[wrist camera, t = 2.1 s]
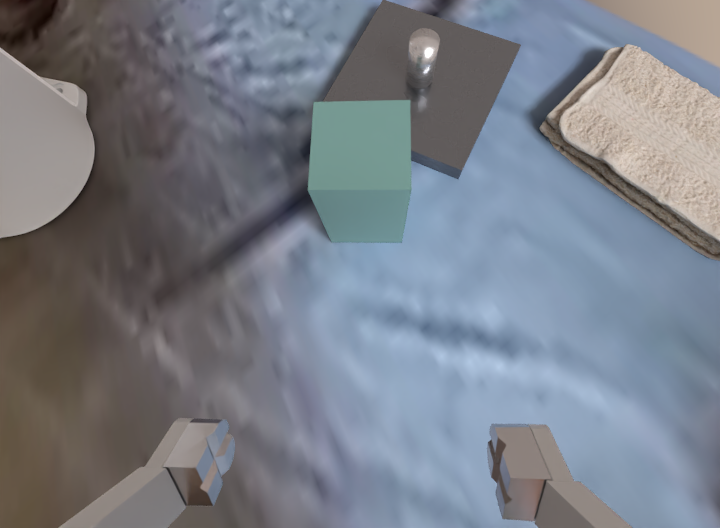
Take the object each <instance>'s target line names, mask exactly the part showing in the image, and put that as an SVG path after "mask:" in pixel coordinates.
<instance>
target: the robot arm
mask: <svg viewBox="0 0 720 528" xmlns="http://www.w3.org/2000/svg"><path fill="white" fill-rule="evenodd" d="M86 109H87V95H86V93H85V91H84V90H82V89H81V88H79V87H78V86H77V85H75V84H73V83H68V82H63V81H59V80H54V79H49V78H44V77H39V76H38V75H36V74H35V73H34V72H32V71H31V70H30V69H28V68H27V67H26V66H24V65H23V64H22V63H20V62H19V61H18V60H16V59H15V58H14V57H12V56H11V55H9V54H8V53H7V52H5V51H4V50H3V49H1V48H0V238H2V237H9V236H15V235H20V234H24V233H27V232H30V231H32V230H35V229H37V228H39V227H41V226H43V225H45V224H47V223H48V222H50V221H51V220H53V219H54V218H56V217H57V216H58V215H59V214H61V213H62V212H63V211H64V210H65V209H66V208H67V207H68V206H69V205H70V204H71V203H72V202H73V201H74V200H75V199H76V197H77V196H78V195H79V193H80V192H81V190H82V189H83V187H84V185H85V183H86V181H87V179H88V177H89V175H90V172H91V169H92V166H93V161H94V153H95V146H94V138H93V134H92V131H91V129H90V127H89V124H88V122H87V119H86ZM228 429H229V425H228V423H227V420H217V419H195V418H179V419H177V420H176V421H175V422H174V423H173V424H172V426H171V427H170V429H169V430H168V432H167V433H166V435H165V437H164V438H163V440H162V441H161V443H160V444H159V446H158V447H157V449H156V450H155V452H154V453H153V455H152V457H151V458H150V460H149V461H148V463H147V464H146V466H145V467H140V468H138V469H137V470H135V471H134V472H133V473H131V474H130V475H129V476H127V477H126V478H125V479H123V480H122V481H121V482H119V483H118V484H117V485H115V486H114V487H113V488H111V489H110V490H109V491H107V492H106V493H105V494H103V495H102V496H101V497H99V498H98V499H96V500H95V501H94V502H92V503H91V504H90V505H88V506H87V507H86V508H84V509H83V510H82V511H80V512H79V513H78V514H76V515H75V516H74V517H72V518H71V519H70V520H68V521H67V522H66V523H64V524H63V525H61V526H60V527H59V528H167V527H168V526H169V525H170V524H171V523H172V522H173V521H174V520H175V519H176V518H177V517H178V516H179V515H180V514H181V513H182V511H183V510H184V509H185V508H186V506H214V503H215V501H216V499H217V496H218V494H219V492H220V489H221V487H222V485H223V481H222V477H221V476H222V475H223V474H224V473H225V472H226V471H227V470H228V469H229V468H230V465H231V463H232V460H233V456H234V451H235V443H234V439H233V436H231V435H230V434H229V433H228V432H227V431H228ZM490 436H491V440H490V441H489V442H488V447H487V455H488V464H489V469H490V473H491V477H492V478H493V479H494V480H495V482H496V483H497V488H496V497H497V500H498V504H499V508H500V512H501V515H502V519H511V520H524V521H535V524H536V525H537V526H538V528H632V527H631V526H630V525H629V524H628V523H627V522H625V521H624V520H623V519H622V518H621V517H620V516H619V515H617V514H616V513H615V512H614V511H613V510H612V509H611V508H609V507H608V506H607V505H606V504H605V503H604V502H603V501H601V500H600V499H599V498H598V497H597V496H596V495H595V494H594V493H592V492H591V491H590V490H589V489H588V488H587V487H586V486H584V485H583V484H582V483H581V482H578V481H574V480H573V478H572V476H571V473H570V471H569V469H568V467H567V465H566V463H565V461H564V459H563V456H562V454H561V452H560V450H559V448H558V446H557V444H556V442H555V439H554V437H553V435H552V433H551V431H550V429H549V427H548V426H547V425H536V424H528V425H527V424H492V425H491V426H490Z"/></svg>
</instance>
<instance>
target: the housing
mask: <svg viewBox="0 0 720 528" xmlns="http://www.w3.org/2000/svg"><path fill="white" fill-rule="evenodd" d="M308 192H309V194H310V196H311V198H312V201H313V203H314V205H315V207H316V209H317V212H318V214H319V216H320V218H321V220H322V222H323V225H324V227H325V229H326V231H327V233H328V236H329V238H330V240H331V242H370V243H402V238H403V233H404V227H405V222H406V216H407V211H408V205H409V200H410V194H411V119H410V100H382V101H334V102H314V103H313V118H312V133H311V148H310V163H309V178H308Z"/></svg>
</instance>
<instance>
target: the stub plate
mask: <svg viewBox="0 0 720 528" xmlns="http://www.w3.org/2000/svg"><path fill="white" fill-rule="evenodd" d="M520 46H521V45H520V44H517V43H514V42H511V41H508V40H505V39H502V38H499V37H496V36H493V35H490V34H486V33H483V32H480V31H477V30H474V29H471V28H468V27H465V26H462V25H459V24H456V23H453V22H450V21H447V20H444V19H441V18H438V17H435V16H431V15H428V14H425V13H422V12H419V11H416V10H413V9H410V8H407V7H404V6H401V5H398V4H395V3H392V2H389V1H386V0H383V1H382V2H381V4H380V6H379V7H378V9H377V11H376V12H375V14H374V16H373V17H372V19H371V21H370V23H369V24H368V26H367V28H366V29H365V31H364V33H363V34H362V36H361V38H360V39H359V41H358V43H357V44H356V46H355V48H354V50H353V51H352V53H351V55H350V56H349V58H348V60H347V61H346V63H345V65H344V66H343V68H342V70H341V71H340V73H339V75H338V77H337V78H336V80H335V82H334V83H333V85H332V87H331V88H330V90H329V92H328V93H327V95H326V97H325V98H324V100H323V102H334V101H382V100H410V119H411V160H412V161H415V162H417V163H420V164H422V165H425V166H427V167H430V168H432V169H435V170H437V171H439V172H442V173H444V174H447V175H449V176H452V177H454V178H457V179H458V178H459V176H460V174H461V172H462V170H463V168H464V165H465V163H466V161H467V159H468V157H469V155H470V153H471V151H472V148H473V146H474V144H475V142H476V140H477V138H478V136H479V134H480V131H481V129H482V127H483V125H484V123H485V121H486V119H487V117H488V115H489V112H490V110H491V108H492V106H493V104H494V102H495V100H496V98H497V95H498V93H499V91H500V89H501V87H502V85H503V83H504V81H505V78H506V76H507V74H508V72H509V70H510V68H511V66H512V64H513V61H514V59H515V57H516V55H517V53H518V51H519V48H520Z"/></svg>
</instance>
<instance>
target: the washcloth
mask: <svg viewBox="0 0 720 528" xmlns="http://www.w3.org/2000/svg"><path fill="white" fill-rule="evenodd" d="M539 129H540V131H541V132H542V133H543V134H544V135H545V136H546V137H548V138H549V140H550V142H551V144H552V145H553V146H554V148H555V149H557V150H558V151H560V152H561V154H562V155H564V156H566V158H568V159H569V160H570V161H571V162H572V163H573V164H575V165H576V166H578V167H579V168H581V169H582V170H583V171H585V172H586V173H588V174H589V175H591V176H592V177H593V178H594V179H596V180H597V181H599V182H600V183H602V184H603V185H604V186H606V187H607V188H608V189H610V190H611V191H612V192H614V193H615V194H616V195H618V196H619V197H621V198H622V199H623V200H625V201H626V202H628V203H629V204H630V205H632V206H633V207H635V208H636V209H638V210H639V211H641V212H642V213H643V214H645V215H646V216H648V217H649V218H650V219H652V220H654V221H655V222H656V223H658V224H659V225H661V226H662V227H663V228H665V229H666V230H667V231H669V232H671V233H672V234H673V235H674V236H676V237H677V238H678V239H680V240H681V241H682V242H684V243H685V244H687V245H688V246H690V247H691V248H692V249H694V250H695V251H697V252H698V253H700V254H702V255H704V256H706V257H708V258H711V259H714V260H719V261H720V97H719V98H718V97H716V96H714V95H713V94H711V93H710V92H709V91H708V90H707V89H705V88H702V87H700V86H698V84H697V83H696V82H692V81H691V80H689V79H688V78H686V77H683V76H681V75H680V74H679V73H678V72H676V71H674V70H673V69H670V68H669V67H668V66H665V65H663V63H662V62H660V61H659V60H658V59H656V58H654V57H653V56H651V54H649V53H647V52H643V51H642V50H641V49H640V48H639V47H638V48H637V46H633V45H629V44H626V45H625V46H624V48H623V47H616V48H611V49H609V50H607V51H605V54H604V56H603V58H602V60H601V61H600V62H599V63H598V65H597V66H596V67H595V68H594V69H593V70H592V71H591V72H590V73H589V74H588V75H587V76H586V77H585V78H584V79H583V80H582V81H581V82H580V83H579V84H578V85H577V86H576V87H575V88H574V89H573V90H572V91H571V92H570V93H569V94H568V95H567V96H566V97H565V98H564V99H563V100H562V101H561V102H560V103H559V104H558V105H557V106H556V107H555V108H554V109H553V110H552V111H551V112H550V113H549V114H548V115H547V117H546V120H545V121H544V122H543V123H542V125H541V126H540V128H539Z"/></svg>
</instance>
